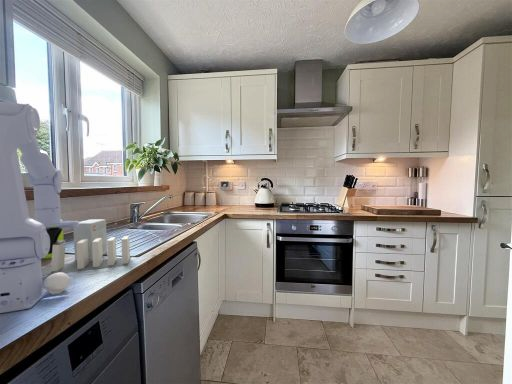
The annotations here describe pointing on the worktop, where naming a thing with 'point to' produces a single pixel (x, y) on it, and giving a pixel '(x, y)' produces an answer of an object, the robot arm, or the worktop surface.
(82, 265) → the domino
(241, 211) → the worktop surface
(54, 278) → the mushroom
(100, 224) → the small box
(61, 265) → the domino
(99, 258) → the domino
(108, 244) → the domino
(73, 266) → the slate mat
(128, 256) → the domino
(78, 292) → the worktop surface
